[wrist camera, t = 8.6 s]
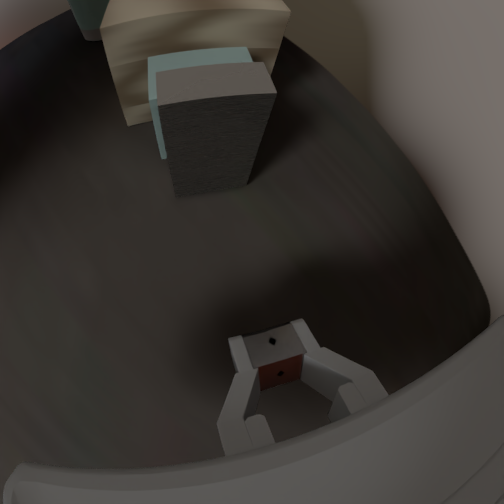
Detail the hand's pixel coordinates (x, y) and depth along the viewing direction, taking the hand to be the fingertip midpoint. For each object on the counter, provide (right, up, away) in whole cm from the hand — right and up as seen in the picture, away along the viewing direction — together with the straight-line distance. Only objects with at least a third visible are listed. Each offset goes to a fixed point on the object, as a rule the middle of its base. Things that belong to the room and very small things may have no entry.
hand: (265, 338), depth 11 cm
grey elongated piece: (-5, +16, +8) cm, 18 cm away
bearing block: (-6, +18, +8) cm, 20 cm away
